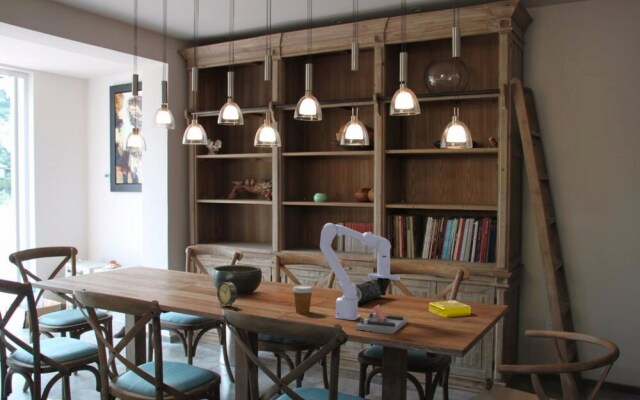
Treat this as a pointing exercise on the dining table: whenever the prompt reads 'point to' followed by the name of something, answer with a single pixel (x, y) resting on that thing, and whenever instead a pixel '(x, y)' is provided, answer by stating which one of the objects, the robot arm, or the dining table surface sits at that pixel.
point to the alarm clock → (227, 293)
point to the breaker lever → (379, 312)
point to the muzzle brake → (367, 291)
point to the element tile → (449, 308)
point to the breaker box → (381, 324)
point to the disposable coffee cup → (302, 298)
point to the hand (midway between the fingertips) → (383, 295)
